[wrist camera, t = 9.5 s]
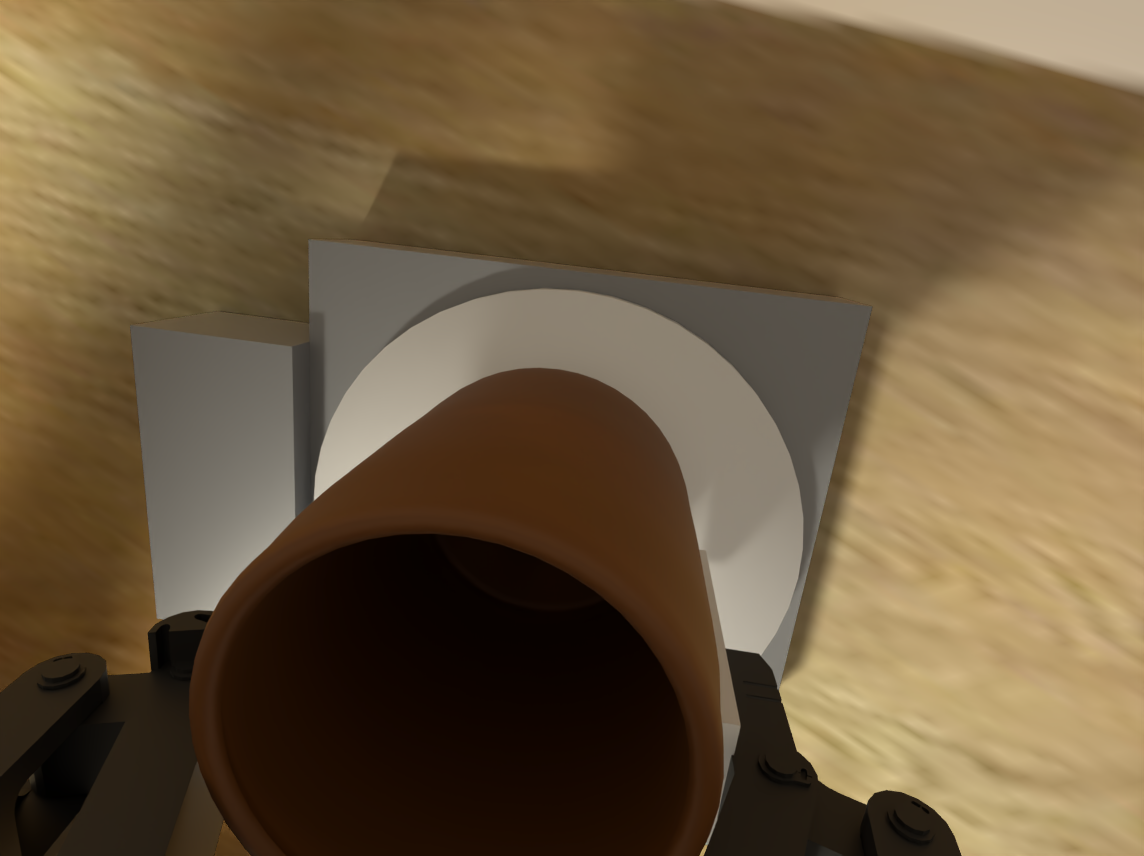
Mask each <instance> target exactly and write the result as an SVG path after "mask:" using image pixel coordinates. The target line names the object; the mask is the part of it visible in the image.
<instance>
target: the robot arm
mask: <svg viewBox="0 0 1144 856" xmlns="http://www.w3.org/2000/svg"><path fill="white" fill-rule="evenodd" d="M699 551H700V557H701V562H702V567H703V573H704V578H705V584H706V589H707V594H708V600H709V605H710V611H711V616H712V621H713V627H714V634H715V640H716V646H717V653H718V660H719V668H720V705H721V718H722V727H723V744H724V779H723V785H722V792H721V798H720V804H719V808H718V811H717V815H716V818H715V821H714V824H713V827H712V830H711V833H710V835H709V837H708V839H707V842H706V844H705V845H708V846H707V849H706V851H705V854H704V856H961V853H960V850H959V848H958V845H957V842H956V839H955V837H954V835H953V833H952V831H951V830H950V828H949V826H948V824H947V823H946V822H945V821H944V820H943V819H942V818H941V816H940V815H939V814H938V813H937V812H936V811H935V810H934V809H932V808H931V807H929V806H928V805H926V804H925V803H923V802H922V801H920V800H919V799H917V798H914V797H912V796H909V795H907V794H904V793H902V792H896V791H888V790H885V791H881V792H877V793H874V795H873V796H872V797H871V798H870V799H869V800H868V803H867V805H866V804H863V803H861V802H859V801H856V800H854V799H851V798H849V797H847V796H844V795H842V794H840V793H838V792H836V791H834V790H832V789H830V788H828V787H827V786H825V785H824V784H822V783H821V782H820V781H818V777H817V774H816V772H815V770H814V768H813V767H812V765H811V763H810V762H808V761H807V760H806V759H805V758H804V757H803V756H802V755H801V754H800V753H799V752H797V750H796V747H795V743H794V740H793V737H792V733H791V730H790V727H789V723H788V720H787V717H786V713H785V710H784V707H783V703H781V697H780V693H779V690H778V689H777V683H776V680H775V676H774V673H773V670H772V669H771V667H770V666H769V665H768V664H767V663H766V661H765V660H764V659H763V658H762V657H761V656H760V654H758V653H752V652H746V651H739V650H733V649H727V648H725V644H724V639H723V634H722V629H721V624H720V619H719V614H718V609H717V604H716V598H715V593H714V588H713V583H712V578H711V573H710V568H709V563H708V558H707V553H706V551H705V550H699ZM212 613H213V611H207V610H195V611H188V612H182V613H179V614H176V615H173V616H170V617H167V618H166V619H164V620H162V621H160V622H159V623H157V624H155V625H154V626H153V628H152V629H151V630H150V631H149V632H148V640H149V651H150V661H151V672H150V673H141V674H124V675H107V666H106V661H105V660H104V659H103V658H102V657H100V656H99V655H95V654H90V653H71V654H66V655H63V656H62V655H61V656H58V657H54V658H52V659H49V660H47V661H44V662H42V663H39V664H37V665H36V666H34V667H33V668H31V669H29V670H28V671H26V672H25V673H23V674H22V675H21V676H20V677H19V678H17V679H16V680H15V681H14V682H13V683H11V684H10V685H9V686H8V687H7V688H5V689H4V690H3V691H2V692H1V693H0V856H214V854H215V850H216V846H217V843H218V839H219V835H220V831H221V828H222V824H223V820H224V819H223V817H222V815H221V814H220V812H219V810H218V808H217V807H216V805H215V803H214V801H213V800H212V798H211V795H210V793H209V791H208V788H207V786H206V784H205V781H204V779H203V777H202V774H201V772H200V768H199V765H198V761H197V758H196V754H195V750H194V747H193V742H192V735H191V727H190V720H189V688H190V682H191V676H192V671H193V665H194V660H195V656H196V653H197V650H198V647H199V644H200V641H201V639H202V636H203V633H204V630H205V627H206V624H207V622H208V620H209V619H210V617H211V615H212Z"/></svg>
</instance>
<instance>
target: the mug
mask: <svg viewBox="0 0 1144 856" xmlns="http://www.w3.org/2000/svg"><path fill="white" fill-rule="evenodd" d="M189 720H190V727H191V735H192V742H193V747H194V750H195V754H196V758H197V761H198V765H199V768H200V772H201V774H202V777H203V779H204V781H205V784H206V786H207V788H208V791H209V793H210V795H211V798H212V800H213V801H214V803H215V805H216V807H217V808H218V810H219V812H220V814H221V815H222V817H223V819H224V820H225V822H226V824H227V825H228V827H229V828H230V829H231V831H232V832H233V833H234V835H235V836H236V837H237V839H238V840H239V841H240V843H241V844H242V845H243V847H244V848H245V849H246V850H247V851H248V852H249V854H250V855H251V856H699V855H700V853H701V851H702V849H703V847H704V845H705V844H706V842H707V839H708V837H709V835H710V833H711V830H712V827H713V824H714V821H715V818H716V815H717V811H718V808H719V804H720V798H721V792H722V785H723V779H724V744H723V727H722V718H721V705H720V668H719V660H718V653H717V646H716V640H715V634H714V627H713V621H712V616H711V611H710V605H709V600H708V594H707V589H706V584H705V578H704V573H703V567H702V562H701V557H700V551H699V546H698V541H697V536H696V531H695V527H694V523H693V518H692V514H691V509H690V504H689V498H688V493H687V488H686V484H685V481H684V478H683V475H682V471H681V468H680V465H679V463H678V460H677V458H676V456H675V454H674V452H673V450H672V448H671V446H670V444H669V442H668V441H667V439H666V438H665V436H664V435H663V433H662V431H661V430H660V428H659V427H658V426H657V425H656V424H655V422H654V421H653V420H652V419H651V418H650V417H649V416H648V414H647V413H646V412H645V411H643V410H642V409H641V408H640V407H639V406H638V405H637V404H636V403H634V402H633V401H632V400H631V399H629V398H628V397H626V396H625V395H623V394H622V393H620V392H619V391H618V390H616V389H615V388H613V387H611V386H609V385H607V384H605V383H603V382H601V381H599V380H597V379H594V378H591V377H588V376H585V375H582V374H580V373H575V372H570V371H566V370H561V369H550V368H521V369H515V370H509V371H504V372H499V373H496V374H493V375H490V376H487V377H484V378H482V379H480V380H478V381H475V382H473V383H471V384H469V385H467V386H465V387H463V388H461V389H460V390H458V391H457V392H455V393H454V394H452V395H451V396H449V397H448V398H446V399H445V400H443V401H442V402H441V403H439V404H438V405H437V406H435V407H434V408H433V409H431V410H430V411H429V412H428V413H426V414H425V415H424V416H422V417H421V418H420V419H418V420H417V421H415V422H414V423H413V424H411V425H410V426H408V427H407V428H405V429H404V430H403V431H401V432H400V433H399V434H397V435H396V436H395V437H393V438H392V439H391V440H390V441H388V442H387V443H386V444H384V445H383V446H382V447H381V448H379V449H378V450H377V451H375V452H374V453H373V454H372V455H370V456H369V457H368V458H366V459H365V460H364V461H362V462H361V463H360V464H359V465H357V466H356V467H355V468H353V469H352V470H351V471H350V472H348V473H347V474H346V475H344V476H343V477H342V478H341V479H339V480H338V481H337V482H335V483H334V484H333V485H332V486H330V487H329V488H328V489H327V490H326V491H325V492H323V493H322V494H321V495H320V496H319V497H318V498H316V499H315V500H314V501H313V502H312V503H311V504H310V505H309V506H308V507H307V508H305V509H304V510H303V511H302V512H301V513H300V514H299V515H298V516H297V517H296V518H295V519H294V520H293V521H292V522H291V523H290V524H289V525H288V526H287V527H286V528H285V529H284V530H283V531H282V532H281V533H280V535H279V536H278V537H277V538H276V539H275V540H274V541H273V542H272V543H271V544H270V545H269V546H268V547H267V548H266V549H265V550H264V551H263V552H262V553H261V554H260V555H259V556H258V557H256V558H255V559H254V560H253V561H252V562H251V563H250V564H249V565H248V566H247V567H246V568H245V569H244V570H243V571H242V572H241V573H240V574H239V576H238V577H237V578H236V579H235V581H234V582H233V583H232V584H231V586H230V587H229V588H228V590H227V591H226V592H225V593H224V595H223V596H222V597H221V599H220V600H219V602H218V604H217V606H216V608H215V610H214V611H213V613H212V615H211V617H210V619H209V620H208V622H207V624H206V627H205V630H204V633H203V636H202V639H201V641H200V644H199V647H198V650H197V653H196V656H195V660H194V665H193V671H192V676H191V682H190V688H189Z"/></svg>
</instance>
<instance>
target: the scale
mask: <svg viewBox="0 0 1144 856" xmlns="http://www.w3.org/2000/svg"><path fill="white" fill-rule="evenodd" d="M308 240H309V323H305V322H297V321H289V320H282V319H274V318H266V317H259V316H251V315H243V314H235V313H228V312H220V311H215V312H209V313H203V314H196V315H190V316H184V317H178V318H171V319H165V320H159V321H153V322H146V323H140V324H134V325H130V329H131V340H132V351H133V362H134V373H135V384H136V395H137V406H138V417H139V428H140V438H141V449H142V460H143V471H144V482H145V493H146V504H147V515H148V526H149V537H150V548H151V559H152V570H153V580H154V591H155V602H156V613H157V618H158V619H166V618H167V617H170V616H173V615H176V614H179V613H182V612H188V611H195V610H207V611H214V610H215V608H216V606H217V604H218V602H219V600H220V599H221V597H222V596H223V595H224V593H225V592H226V591H227V590H228V588H229V587H230V586H231V584H232V583H233V582H234V581H235V579H236V578H237V577H238V576H239V574H240V573H241V572H242V571H243V570H244V569H245V568H246V567H247V566H248V565H249V564H250V563H251V562H252V561H253V560H254V559H255V558H256V557H258V556H259V555H260V554H261V553H262V552H263V551H264V550H265V549H266V548H267V547H268V546H269V545H270V544H271V543H272V542H273V541H274V540H275V539H276V538H277V537H278V536H279V535H280V533H281V532H282V531H283V530H284V529H285V528H286V527H287V526H288V525H289V524H290V523H291V522H292V521H293V520H294V519H295V518H296V517H297V516H298V515H299V514H300V513H301V512H302V511H303V510H304V509H305V508H307V507H308V506H309V505H310V504H311V503H312V502H313V501H314V500H315V499H316V498H318V497H319V496H320V495H321V494H322V493H323V492H325V491H326V490H327V489H328V488H329V487H330V486H332V485H333V484H334V483H335V482H337V481H338V480H339V479H341V478H342V477H343V476H344V475H346V474H347V473H348V472H350V471H351V470H352V469H353V468H355V467H356V466H357V465H359V464H360V463H361V462H362V461H364V460H365V459H366V458H368V457H369V456H370V455H372V454H373V453H374V452H375V451H377V450H378V449H379V448H381V447H382V446H383V445H384V444H386V443H387V442H388V441H390V440H391V439H392V438H393V437H395V436H396V435H397V434H399V433H400V432H401V431H403V430H404V429H405V428H407V427H408V426H410V425H411V424H413V423H414V422H415V421H417V420H418V419H420V418H421V417H422V416H424V415H425V414H426V413H428V412H429V411H430V410H431V409H433V408H434V407H435V406H437V405H438V404H439V403H441V402H442V401H443V400H445V399H446V398H448V397H449V396H451V395H452V394H454V393H455V392H457V391H458V390H460V389H461V388H463V387H465V386H467V385H469V384H471V383H473V382H475V381H478V380H480V379H482V378H484V377H487V376H490V375H493V374H496V373H499V372H504V371H509V370H515V369H521V368H550V369H561V370H566V371H570V372H575V373H580V374H582V375H585V376H588V377H591V378H594V379H597V380H599V381H601V382H603V383H605V384H607V385H609V386H611V387H613V388H615V389H616V390H618V391H619V392H620V393H622V394H623V395H625V396H626V397H628V398H629V399H631V400H632V401H633V402H634V403H636V404H637V405H638V406H639V407H640V408H641V409H642V410H643V411H645V412H646V413H647V414H648V416H649V417H650V418H651V419H652V420H653V421H654V422H655V424H656V425H657V426H658V427H659V428H660V430H661V431H662V433H663V435H664V436H665V438H666V439H667V441H668V442H669V444H670V446H671V448H672V450H673V452H674V454H675V456H676V458H677V460H678V463H679V465H680V468H681V471H682V475H683V478H684V481H685V484H686V488H687V493H688V498H689V504H690V509H691V514H692V518H693V523H694V527H695V531H696V536H697V541H698V546H699V550H705V551H706V553H707V558H708V563H709V568H710V573H711V578H712V583H713V588H714V593H715V598H716V604H717V609H718V614H719V619H720V624H721V629H722V634H723V639H724V644H725V648H727V649H733V650H739V651H746V652H752V653H758V654H760V656H761V657H762V658H763V659H764V660H765V661H766V663H767V664H768V665H769V666H770V667H771V669H772V670H773V673H774V676H775V680H776V683H777V689H778V690H779V687H780V683H781V679H782V675H783V671H784V667H785V663H786V659H787V654H788V650H789V646H790V642H791V638H792V634H793V630H794V626H795V622H796V618H797V614H798V609H799V605H800V601H801V597H802V593H803V589H804V585H805V581H806V577H807V573H808V569H809V564H810V560H811V556H812V552H813V548H814V544H815V540H816V536H817V532H818V528H819V524H820V519H821V515H822V511H823V507H824V503H825V499H826V495H827V491H828V487H829V483H830V479H831V474H832V470H833V466H834V462H835V458H836V454H837V450H838V446H839V442H840V438H841V434H842V429H843V425H844V421H845V417H846V413H847V409H848V405H849V401H850V397H851V393H852V389H853V384H854V380H855V376H856V372H857V368H858V364H859V360H860V356H861V352H862V348H863V344H864V339H865V335H866V331H867V327H868V323H869V319H870V315H871V311H872V307H873V306H869V305H865V304H862V303H858V302H855V301H851V300H848V299H844V298H841V297H833V296H824V295H816V294H808V293H799V292H791V291H782V290H774V289H765V288H757V287H749V286H740V285H732V284H723V283H715V282H707V281H698V280H690V279H681V278H673V277H664V276H656V275H648V274H639V273H631V272H622V271H614V270H606V269H597V268H589V267H580V266H572V265H563V264H555V263H547V262H538V261H530V260H521V259H513V258H505V257H496V256H488V255H479V254H471V253H462V252H454V251H446V250H437V249H429V248H420V247H412V246H404V245H395V244H387V243H378V242H370V241H361V240H345V239H308Z"/></svg>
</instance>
